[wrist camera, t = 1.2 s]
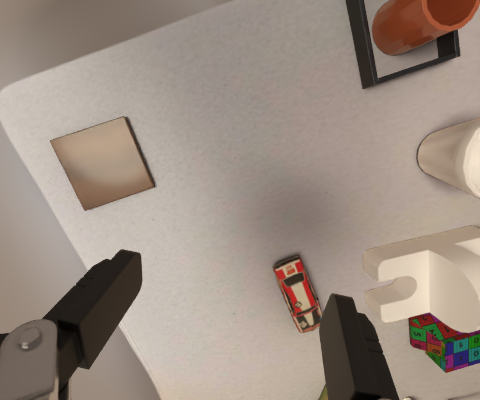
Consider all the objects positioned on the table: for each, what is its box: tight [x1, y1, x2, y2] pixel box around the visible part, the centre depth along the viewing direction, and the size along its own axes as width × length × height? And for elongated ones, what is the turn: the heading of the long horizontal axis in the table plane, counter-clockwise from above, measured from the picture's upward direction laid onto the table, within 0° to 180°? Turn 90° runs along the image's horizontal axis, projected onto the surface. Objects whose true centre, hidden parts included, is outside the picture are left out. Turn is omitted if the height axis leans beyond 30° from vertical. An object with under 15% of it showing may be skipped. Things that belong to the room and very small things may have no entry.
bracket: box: [363, 226, 480, 333], centre depth 37 cm, size 19×10×11 cm, turn 100°
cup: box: [417, 118, 480, 199], centre depth 34 cm, size 10×10×9 cm
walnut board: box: [50, 116, 154, 211], centre depth 33 cm, size 9×9×1 cm
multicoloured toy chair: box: [409, 312, 480, 373], centre depth 42 cm, size 12×8×7 cm
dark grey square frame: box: [346, 0, 460, 89], centre depth 32 cm, size 12×12×2 cm
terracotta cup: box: [372, 0, 480, 55], centre depth 30 cm, size 6×6×8 cm
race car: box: [273, 255, 322, 333], centre depth 39 cm, size 5×12×5 cm, turn 18°
